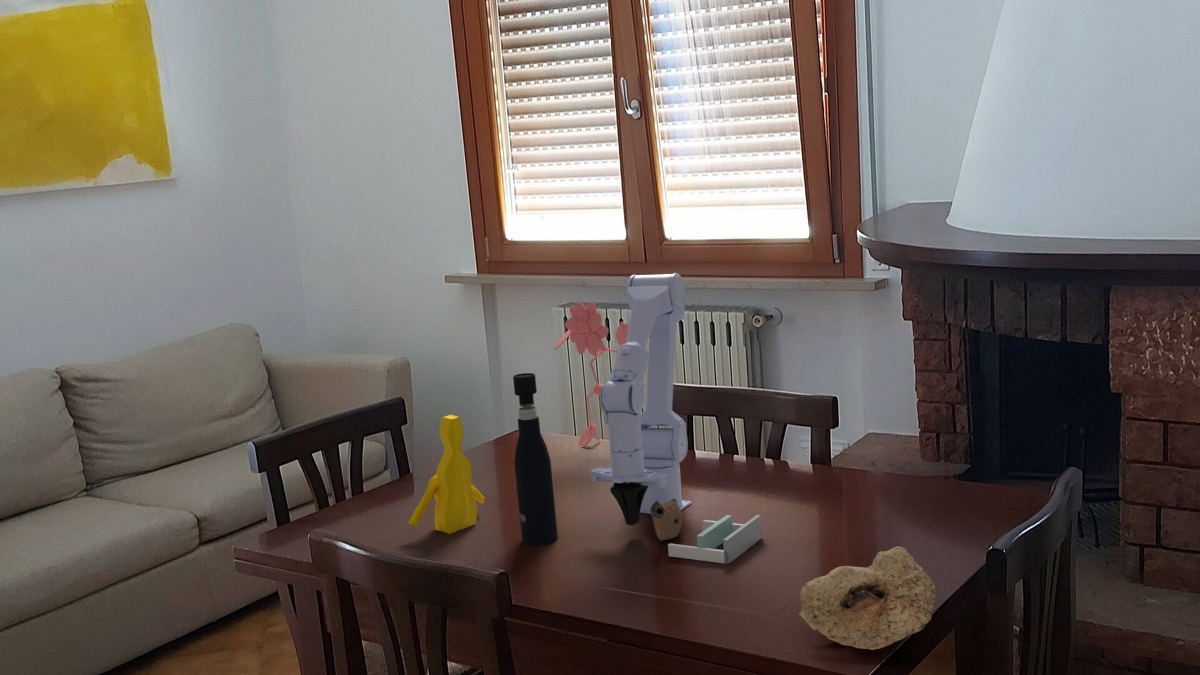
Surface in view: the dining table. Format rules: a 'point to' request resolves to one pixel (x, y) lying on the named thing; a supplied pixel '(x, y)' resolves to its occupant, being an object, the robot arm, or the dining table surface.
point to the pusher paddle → (715, 533)
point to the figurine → (590, 346)
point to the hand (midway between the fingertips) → (632, 523)
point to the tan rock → (870, 601)
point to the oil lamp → (666, 519)
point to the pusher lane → (732, 544)
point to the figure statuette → (451, 484)
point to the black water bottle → (533, 470)
